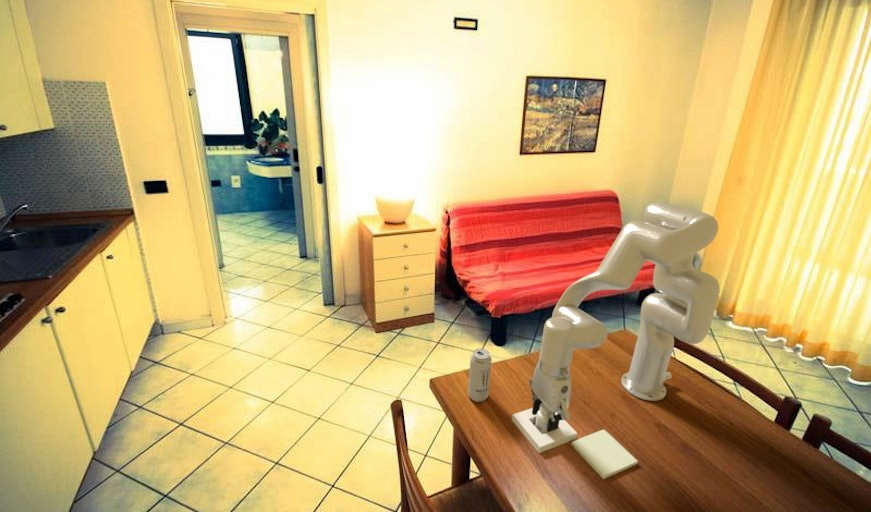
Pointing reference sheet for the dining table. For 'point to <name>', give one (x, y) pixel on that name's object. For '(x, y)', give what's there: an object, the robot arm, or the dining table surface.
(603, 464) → the pad
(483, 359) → the energy drink can
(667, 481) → the dining table surface
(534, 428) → the collar
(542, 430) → the pill bottle
